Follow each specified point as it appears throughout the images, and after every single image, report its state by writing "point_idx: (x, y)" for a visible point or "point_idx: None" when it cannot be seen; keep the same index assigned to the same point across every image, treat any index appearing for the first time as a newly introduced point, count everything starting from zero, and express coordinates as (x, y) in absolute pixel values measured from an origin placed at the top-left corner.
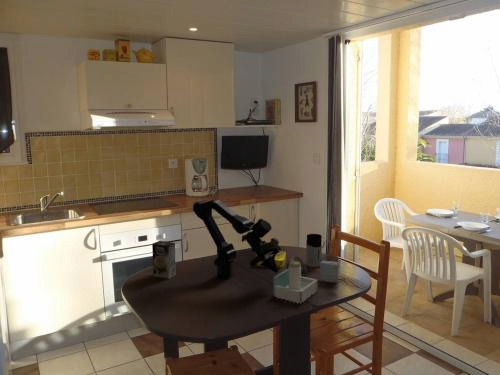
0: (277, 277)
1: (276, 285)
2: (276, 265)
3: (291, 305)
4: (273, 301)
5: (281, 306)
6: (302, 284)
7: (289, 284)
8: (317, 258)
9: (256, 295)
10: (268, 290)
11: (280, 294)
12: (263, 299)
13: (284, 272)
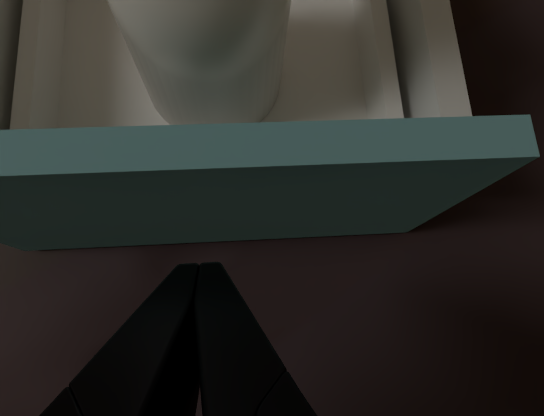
0: (444, 125)
1: None
2: (112, 346)
3: (452, 7)
4: None
5: (525, 60)
6: (53, 52)
7: (278, 61)
8: None
9: (511, 398)
10: (311, 369)
11: None
12: (532, 270)
13: (174, 126)
